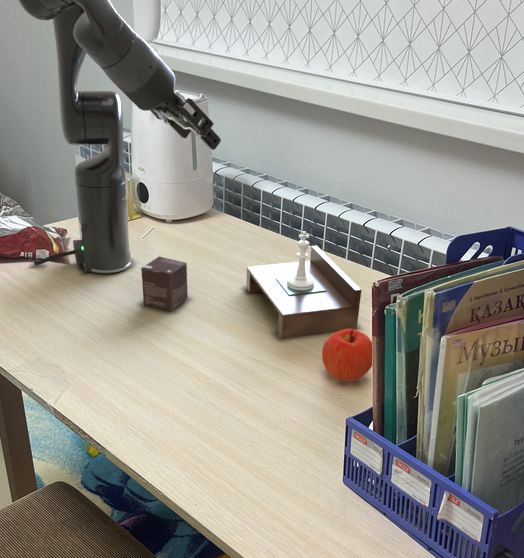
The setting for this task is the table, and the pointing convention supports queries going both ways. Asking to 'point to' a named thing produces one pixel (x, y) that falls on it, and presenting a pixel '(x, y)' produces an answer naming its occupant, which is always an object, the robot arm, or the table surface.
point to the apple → (347, 354)
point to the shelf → (308, 296)
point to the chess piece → (301, 268)
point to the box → (164, 283)
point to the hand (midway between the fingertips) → (201, 139)
